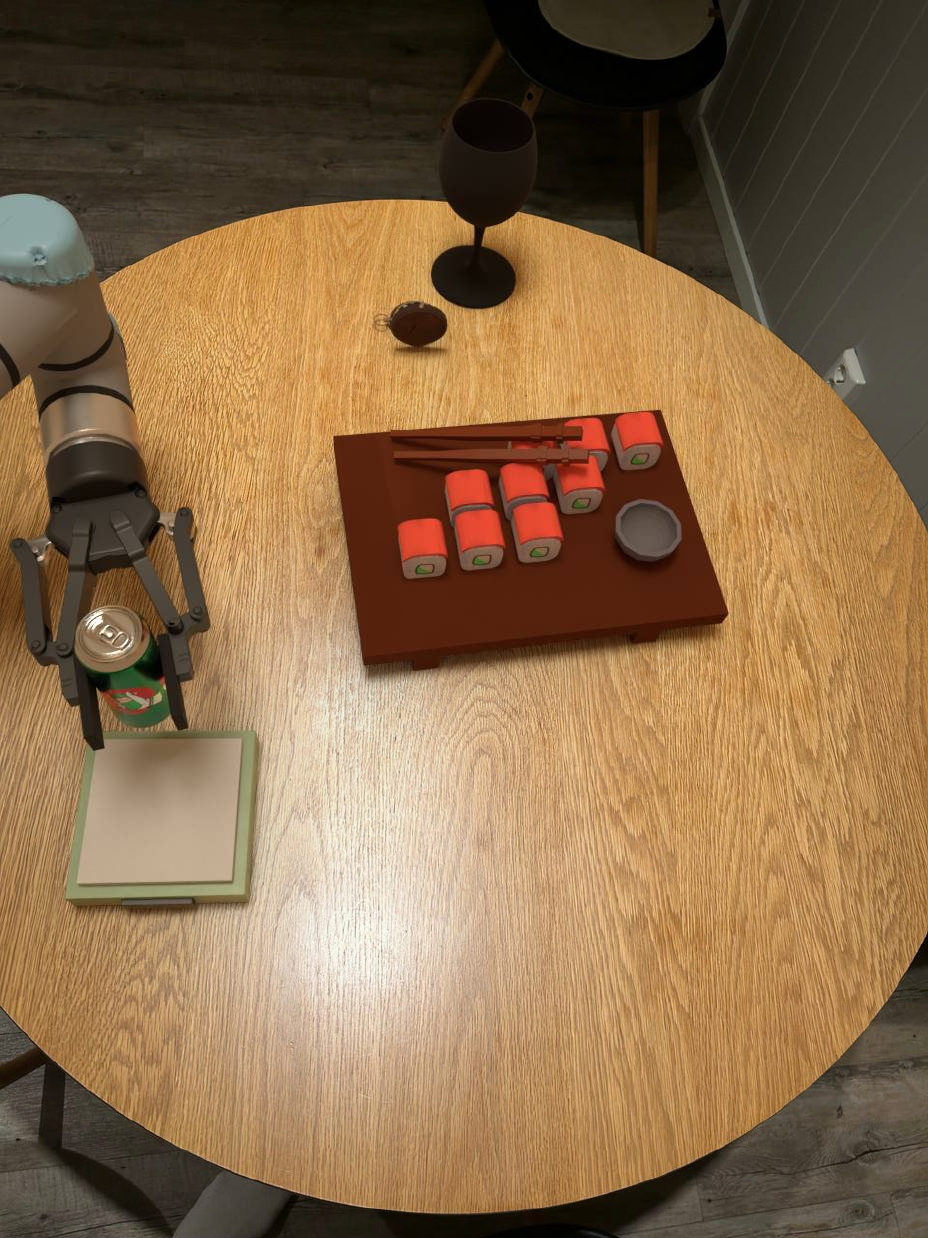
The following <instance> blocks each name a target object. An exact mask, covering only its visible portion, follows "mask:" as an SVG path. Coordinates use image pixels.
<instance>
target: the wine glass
mask: <svg viewBox="0 0 928 1238" xmlns="http://www.w3.org/2000/svg"><path fill="white" fill-rule="evenodd" d="M537 140H538V139H537V131H536V126H535V123H534V121H533V119H532V117H531V116H530V115H529V113H528V112H527V111H525V110H524V109H523V108H521V106H518V105H517V104H515V103H513V102H510V101H508V100H504V99H500V98H494V97H493V98H491V97H480V98H474V99H471V100H468V101H465V102H464V103H462V104H460V105H459V106H458V107H457V108H456V109H454V111H453V113H452V115H451V117H450V118H449V122H448V124H447V127H446V129H445V132H444V135H443V138H442V142H441V146H440V150H439V157H438V177H439V183H440V187H441V192H442V194H443V196H444V198H445V200H446V202H447V204H448V205H449V207H450V208H451V210H452V211H453V212H454V213H455V214H456V215H457V216H458V217H459V218H461V220H463V221H465V222H466V223H468V224H470V225H472V226H473V244H462V245H455V246H453V247H450V248H448V249H446V250H444V251H443V252H441V253H440V254H439V255H438V256H437V257H436V258H435V260H434V261H433V263H432V265H431V270H430V278H431V283H432V285H433V287H434V288H435V290H436V292H437V293H438V294H439V295H440V296H442V297H443V298H444V299H445V300H446V301H448V302H450V303H452V304H454V305H456V306H458V307H463V308H467V309H478V310H479V309H487V308H492V307H495V306H498V305H500V304H501V303H504V302H505V301H506V300H508V299H509V297H510V296H511V295H512V294H513V292H514V290H515V288H516V282H517V276H516V272H515V269H514V267H513V265H512V264H511V262H510V261H509V260H508V259H507V258H506V257H505V256H504V255H503V254H501V253H500V252H499V251H496V250H494V249H492V248H490V247H486V246H483V240H484V235H485V231H486V229H487V228H491V227H495V226H498V225H500V224H503V223H505V222H507V221H508V220H510V219H512V218H513V217H515V215H516V214H517V213H518V212H520V210H522V208H523V206H524V205H525V203H526V202H527V200H528V199H529V197H530V195H531V193H532V190H533V187H534V184H535V181H536V176H537V169H538V156H539V155H538V141H537Z"/></svg>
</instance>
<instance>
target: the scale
mask: <svg viewBox="0 0 928 1238" xmlns="http://www.w3.org/2000/svg"><path fill="white" fill-rule="evenodd" d="M102 732H103V739H104V746H105V749H100V750H96V751H93V749H92V748H91V747H90V746H89V744H88V743H87V746H86V753H85V758H84V766H83V770H82V771H83V772H82V778H81V786H80V792H79V799H78V804H77V812H76V818H75V825H74V832H73V839H72V845H71V851H70V858H69V864H68V870H67V877H66V885H65V892H64V897H63V899H64V900H65V901H67V902H68V903H70V904H71V905H73V906H74V907H80V906H81V907H83V906H84V907H85V906H87V907H88V906H120V907H122V908H123V909H124V910H155V909H157V910H158V909H159V910H160V909H194V908H196V905H197V904H214V903H215V902H217V903H218V902H221V903H249V902H250V891H251V875H252V862H253V861H252V859H253V843H254V828H255V813H256V812H255V811H256V796H257V781H258V767H259V766H258V765H259V752H260V751H259V749H260V748H259V747H260V741H259V738H258V734H257V731H256V730H180V731H178V730H150V731H149V730H130V731H129V730H126V731H125V730H123V731H122V730H120V731H119V730H113V731H111V730H110V731H107V730H106V731H104V730H102ZM215 904H216V903H215Z"/></svg>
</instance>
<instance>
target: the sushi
mask: <svg viewBox="0 0 928 1238" xmlns="http://www.w3.org/2000/svg"><path fill="white" fill-rule="evenodd" d="M332 438H333V439H332V440H333V452H334V460H335V467H336V475H337V481H338V482H337V483H338V489H339V490H338V491H339V496H340V504H341V511H342V512H341V513H342V519H343V526H344V533H345V540H346V547H347V548H346V549H347V555H348V563H349V569H350V577H351V584H352V591H353V598H354V599H353V600H354V606H355V612H356V621H357V628H358V634H359V642H360V643H359V644H360V650H361V657H362V664H363V667H371V666H380V665H388V664H397V663H404V662H411V667H412V671H413V672H417V671H425V670H433V669H439V666H440V659H441V658H445V657H454V656H462V655H471V654H480V653H487V652H495V651H503V650H504V651H505V650H513V649H522V648H529V647H537V646H546V645H555V644H564V643H571V642H579V641H588V640H597V639H603V638H604V639H605V638H612V637H621V636H629V637H630V642H631V644H632V645H636V644H642V643H644V644H645V643H652V642H656V641H657V639H658V638H659V636H660V635H661V633H662V631H672V630H679V629H688V628H697V627H703V626H704V627H705V626H712V625H713V626H714V625H720V624H723V622H724V621H725V620H726V618H727V617H728V616H729V614H730V612H729V610H728V607H727V604H726V601H725V597H724V595H723V592H722V591H723V590H722V589H721V586H720V583H719V580H718V577H717V574H716V571H715V567H714V565H713V561H712V559H711V555H710V552H709V550H708V547H707V544H706V541H705V537H704V534H703V531H702V529H701V526H700V523H699V520H698V516H697V514H696V511H695V508H694V505H693V502H692V498H691V496H690V493H689V490H688V486H687V484H686V481H685V477H684V474H683V471H682V469H681V466H680V463H679V460H678V457H677V453H676V451H675V448H674V445H673V442H672V439H671V436H670V433H669V430H668V427H667V424H666V420H665V418H664V416H663V412H662V409H651V410H639V411H637V410H636V411H627V412H626V411H625V412H614V413H601V414H588V415H577V416H575V415H574V416H564V417H552V418H551V417H549V418H539V419H528V420H527V419H525V420H515V421H502V422H489V423H477V424H466V425H453V426H441V427H440V426H439V427H425V428H416V429H415V428H413V429H390V431H389V430H388V431H379V432H365V433H352V434H342V435H341V434H339V435H333V436H332Z"/></svg>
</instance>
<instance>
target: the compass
mask: <svg viewBox="0 0 928 1238" xmlns="http://www.w3.org/2000/svg"><path fill="white" fill-rule="evenodd" d="M378 316H384V323H383V324H379V323H377V322H376V318H377V317H378ZM372 319H373V320H372V321H373V323H374V324H375V325H377V326H379V327H385V326H387V325H389V328H390V330H391V332H392V333H393V335H394V337H396V338H397V339H398V340H399V341H400V342H402V343H406V344H409V345H414V346H423V345H424V346H425V345H429V344H432V343H435V342H437V341H438V340H440V339H442V338H443V337H444V336H445V334H446V333H447V331H448V319H447V316H446V313H444V311H443V310H441V309H440V308H438V307H437V306H436V305H435V306H434V305H431V304H430V303H427V302H425V301H424V300H423V299H421V300H410V301H409V300H408V301H405V302H402V303H399V304H398V305H396V306H395V307H394V309H393V310H392V311H391V313H390V316H388V315H387V314H385V313H377V314H375V315H374V316H373V318H372Z"/></svg>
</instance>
